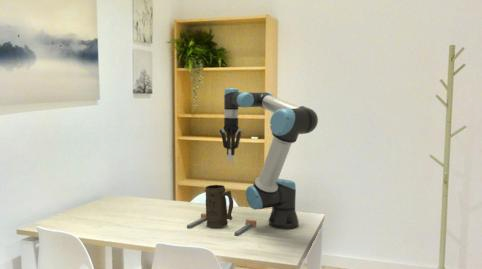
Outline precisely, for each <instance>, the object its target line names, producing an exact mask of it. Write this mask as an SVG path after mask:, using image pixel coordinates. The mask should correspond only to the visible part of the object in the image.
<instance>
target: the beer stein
mask: <svg viewBox="0 0 482 269" xmlns="http://www.w3.org/2000/svg"><path fill="white" fill-rule="evenodd" d="M204 190H205V213H206V219H207V220H206V226H207V227H208V228H216V229H217V228H218V229H219V228H223V227H226V226H227V225H228V223H229V222H228V220H229V221H232V220H233V216H232V212H233V209H234V199H233V197H232V196H233V195H232V191H231V190H226V187H225V185H221V184H211V185H207V186H205V189H204ZM226 197H227V198H228V207H227V198H226ZM227 208H228V209H227Z"/></svg>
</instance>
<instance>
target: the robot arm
mask: <svg viewBox="0 0 482 269" xmlns="http://www.w3.org/2000/svg"><path fill="white" fill-rule="evenodd" d="M223 98H224V103H223V104H224V106H223V107H224V110H223V115H224V116H223V117H224V119H223V125H224V126H223V128H222V129H219V133H220V134H221V139H222V145H223V148H225V149H226V154H227V156H228V162H230V163H231V162H233V161H234V156H235V150H236V149H238V148H239V144H240V141H241V138H242V137H241V136H242V134H243V132H244V131H243V130H240V127H239V118H238V117H239V108H244V109H246V108H262V109H265V110H267V111H269V112H271V113H272V115H271V117H270V120H269V125H270V126H269V127H270V131H271V135H272V136H273V138H272V141H271V143H270V147H269V150H268V151H267V152H268V153H267V155H266V157H265V161H264V164H263V167H262V169H261V172H260V174H259V176H258V177H256V178H255V180H254V182H253V185H249V186H247V187H246V190H245V198H246V201H247V204H248V205H249V207H250V208H251V209H253V210H264V209H269V208H271V212H270V216H269V218H268V226H269V227H271V228H274V229H278V230H279V229H280V230H291V229H295V228H298V227H299V218H298V215H297V211H296V194H297V193H296V191H297V189H296V182H295V181H293V180H289V179H284V178H283V179H282V178H279V177H280V176H281V175H280V174H281V173H282V169H283V167H284V164H285V162H286V159H287V156H288V153H289V152H290V148H291V147H292V144H294V143H296V142H297V140H298V137H299V135H305V134H310V133H312V132H313V131H314V130H315V129H316V128H317V126H318V122H319V118H318V115H317V113H316V111H315V110H313V109H311V108H309V107H307V106H304V105H301V106H298V105H295V104H293V103H291V102H288V101H285V100H283V99H280V98H278V97H276V96H274V95H273V93H270V92H251V91H250V92H245V91H244V92H240V91H239V89H238V88H235V87H233V88H225V89H224V95H223Z"/></svg>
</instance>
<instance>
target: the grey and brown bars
mask: <svg viewBox="0 0 482 269" xmlns="http://www.w3.org/2000/svg"><path fill="white" fill-rule="evenodd" d="M204 222H207V219H206V212H205V213H204V212H202V213H201V214H200V218H199V219H196V220H194V221H193V222H191V223H189V224H187V225H186V228H187V229H188V230H190V229H193V228H195V227H197V226H199V225H200V224H202V223H204ZM255 227H257V220H256V219H249V218H247V219H245V225H244V226H242V227H241V228H239V229H238V230H236V231H235V232H234V236H236V237H239V236H241V235H242V234H244V233H245V232H247V231H248V230H250V229H252V228H255Z"/></svg>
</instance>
